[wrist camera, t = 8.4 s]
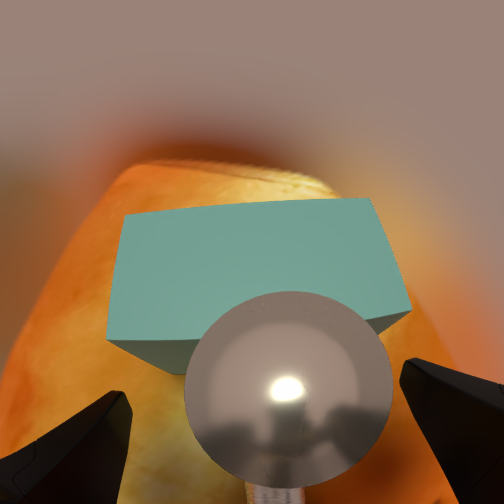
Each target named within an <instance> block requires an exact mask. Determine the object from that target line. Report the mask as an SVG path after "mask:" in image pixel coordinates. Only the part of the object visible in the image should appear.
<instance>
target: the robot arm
mask: <svg viewBox="0 0 504 504" xmlns="http://www.w3.org/2000/svg"><path fill="white" fill-rule="evenodd" d="M399 383H400V387H401V389H402V391H403V393H404V396H405V398H406V400H407V402H408V405H409V407H410V409H411V412H412V414H413V416H414V418H415V420H416V422H417V424H418V426H419V427H420V429H421V431H422V433H423V434H424V436H425V438H426V440H427V442H428V443H429V445H430V447H431V449H432V451H433V453H434V454H435V456H436V458H437V460H438V462H439V464H440V466H441V468H442V470H443V472H444V474H445V476H446V478H447V480H448V482H449V484H450V486H451V488H452V490H453V492H454V494H455V496H456V498H457V500H458V503H459V504H504V385H502V384H497V383H495V382H492V381H488V380H485V379H481V378H478V377H475V376H471V375H468V374H465V373H462V372H458V371H455V370H452V369H449V368H446V367H443V366H440V365H437V364H434V363H431V362H428V361H425V360H422V359H419V358H411V359H408V360H406V361H405V362H404V364H403V368H402V371H401V375H400V379H399ZM132 416H133V413H132V409H131V406H130V404H129V402H128V400H127V397H126V395H125V393H124V392H122V391H115V390H112V391H110V392H108V393H107V394H105V395H104V396H102V397H101V398H99V399H98V400H96V401H95V402H94V403H92V404H91V405H89V406H88V407H86V408H85V409H83V410H82V411H80V412H79V413H77V414H76V415H74V416H73V417H71V418H70V419H68V420H66V421H65V422H63V423H62V424H60V425H59V426H57V427H56V428H54V429H53V430H51V431H49V432H48V433H46V434H45V435H43V436H42V437H40V438H38V439H37V440H36V441H33V442H32V443H30V444H29V445H27V446H25V447H24V448H22V449H20V450H18V451H17V452H15V453H13V454H11V455H8V456H6V457H4V458H2V459H0V504H117V499H118V494H119V489H120V484H121V480H122V475H123V471H124V467H125V463H126V458H127V454H128V447H129V438H130V431H131V423H132Z"/></svg>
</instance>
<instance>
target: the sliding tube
mask: <svg viewBox="0 0 504 504" xmlns="http://www.w3.org/2000/svg"><path fill="white" fill-rule="evenodd" d="M392 397H393V377H392V369H391V365H390V361H389V358H388V355H387V353H386V350H385V348H384V346H383V344H382V342H381V340H380V339H379V337H378V335H377V334H376V333H375V331H374V330H373V329H372V327H371V326H370V325H369V324H368V323H367V322H366V321H365V320H364V319H363V318H362V317H361V316H360V315H358V314H357V313H356V312H355V311H353V310H352V309H350V308H349V307H347V306H345V305H344V304H342V303H340V302H338V301H336V300H334V299H331V298H329V297H325V296H322V295H319V294H314V293H309V292H300V291H281V292H275V293H268V294H265V295H261V296H257V297H254V298H252V299H250V300H247V301H245V302H243V303H241V304H239V305H237V306H235V307H234V308H232V309H230V310H229V311H228V312H226V313H225V314H224V315H222V316H221V317H220V318H219V319H218V320H217V321H216V322H215V323H213V324H212V325H211V327H210V328H209V329H208V330H207V331H206V333H205V334H204V335H203V336H202V338H201V340H200V341H199V343H198V344H197V346H196V348H195V350H194V352H193V354H192V357H191V359H190V362H189V365H188V369H187V372H186V379H185V386H184V399H185V407H186V413H187V417H188V420H189V423H190V426H191V428H192V431H193V433H194V435H195V437H196V439H197V440H198V442H199V443H200V445H201V447H202V448H203V449H204V451H205V452H206V453H207V454H208V455H209V456H210V457H211V459H212V460H213V461H215V462H216V463H217V464H218V465H219V466H221V467H222V468H223V469H224V470H226V471H227V472H229V473H231V474H232V475H234V476H236V477H238V478H240V479H242V480H244V481H245V488H246V496H247V503H248V504H306V502H305V492H304V487H308V486H312V485H316V484H319V483H322V482H325V481H327V480H330V479H332V478H334V477H336V476H338V475H340V474H342V473H343V472H345V471H347V470H348V469H349V468H351V467H352V466H353V465H355V464H356V463H357V462H358V461H360V460H361V459H362V458H363V457H364V456H365V455H366V454H367V453H368V451H369V450H370V449H371V448H372V446H373V445H374V444H375V443H376V441H377V439H378V438H379V436H380V434H381V433H382V431H383V429H384V426H385V424H386V422H387V419H388V416H389V413H390V409H391V405H392Z"/></svg>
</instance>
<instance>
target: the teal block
mask: <svg viewBox="0 0 504 504" xmlns="http://www.w3.org/2000/svg"><path fill="white" fill-rule="evenodd" d="M281 291H300V292H309V293H314V294H319V295H322V296H325V297H329V298H331V299H334V300H336V301H338V302H340V303H342V304H344V305H345V306H347V307H349V308H350V309H352V310H353V311H355V312H356V313H357V314H358V315H360V316H361V317H362V318H363V319H364V320H365V321H366V322H367V323H368V324H369V325H370V326H371V327H372V329H373V330H374V331H375V333H376V334H377V335H379V334H380V333H381V332H383V331H384V330H386V329H387V328H389V327H390V326H391V325H393V324H394V323H396V322H397V321H398V320H400V319H401V318H402V317H404V316H405V315H406V314H408V313H409V312H410V311H411V310H412V307H411V303H410V300H409V297H408V294H407V291H406V288H405V285H404V282H403V279H402V276H401V273H400V270H399V268H398V265H397V262H396V260H395V257H394V254H393V252H392V249H391V247H390V244H389V242H388V239H387V237H386V234H385V232H384V230H383V227H382V225H381V223H380V220H379V218H378V216H377V213H376V211H375V209H374V207H373V205H372V203H371V200H370V198H343V199H310V200H287V201H269V202H253V203H239V204H226V205H214V206H203V207H192V208H182V209H173V210H164V211H155V212H146V213H138V214H131V215H125V219H124V223H123V228H122V232H121V237H120V242H119V247H118V252H117V257H116V263H115V269H114V275H113V282H112V288H111V296H110V304H109V313H108V322H107V334H106V340H108V341H109V342H111V343H113V344H114V345H116V346H118V347H120V348H122V349H123V350H125V351H127V352H129V353H131V354H132V355H134V356H136V357H138V358H140V359H142V360H144V361H146V362H148V363H150V364H152V365H154V366H156V367H158V368H160V369H162V370H164V371H166V372H168V373H170V374H186V372H187V369H188V365H189V362H190V359H191V357H192V354H193V352H194V350H195V348H196V346H197V344H198V343H199V341H200V340H201V338H202V336H203V335H204V334H205V333H206V331H207V330H208V329H209V328H210V327H211V325H212V324H213V323H215V322H216V321H217V320H218V319H219V318H220V317H221V316H222V315H224V314H225V313H226V312H228V311H229V310H230V309H232V308H234V307H235V306H237V305H239V304H241V303H243V302H245V301H247V300H250V299H252V298H254V297H257V296H261V295H265V294H268V293H275V292H281Z"/></svg>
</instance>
